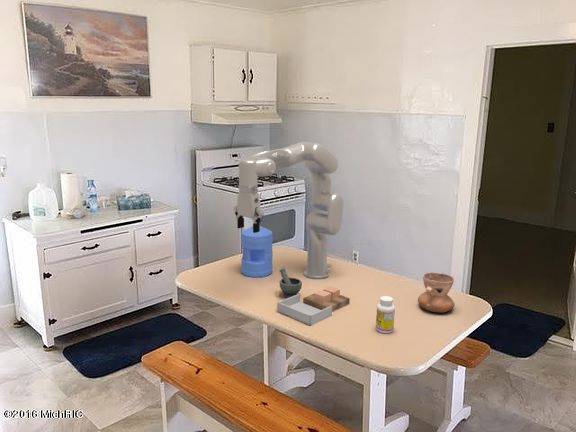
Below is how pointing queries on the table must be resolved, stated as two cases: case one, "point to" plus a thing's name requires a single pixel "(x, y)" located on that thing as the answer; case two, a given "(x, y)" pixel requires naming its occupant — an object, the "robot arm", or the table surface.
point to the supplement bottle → (385, 315)
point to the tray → (302, 310)
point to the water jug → (256, 252)
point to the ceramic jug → (436, 292)
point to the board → (335, 302)
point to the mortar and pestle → (289, 284)
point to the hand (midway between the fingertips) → (248, 230)
